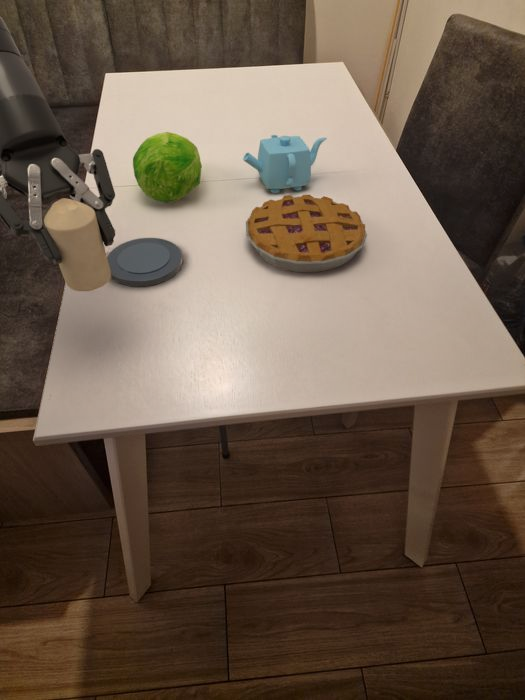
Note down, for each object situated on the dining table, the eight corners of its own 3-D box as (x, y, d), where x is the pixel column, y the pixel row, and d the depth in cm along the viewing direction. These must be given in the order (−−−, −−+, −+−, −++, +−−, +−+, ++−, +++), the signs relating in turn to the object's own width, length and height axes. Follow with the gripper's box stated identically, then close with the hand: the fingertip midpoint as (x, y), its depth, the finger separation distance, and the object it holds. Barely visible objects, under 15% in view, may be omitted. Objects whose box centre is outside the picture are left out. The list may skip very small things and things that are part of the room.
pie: (341, 207, 99) (344, 184, 95) (382, 270, 84) (387, 245, 80) (235, 218, 95) (235, 195, 92) (258, 286, 80) (259, 261, 77)
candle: (120, 277, 60) (101, 204, 53) (81, 298, 57) (56, 223, 50) (95, 259, 62) (74, 186, 55) (56, 278, 60) (29, 204, 52)
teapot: (250, 202, 100) (250, 154, 93) (236, 172, 109) (234, 126, 102) (332, 192, 103) (338, 145, 96) (311, 164, 113) (315, 119, 105)
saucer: (103, 289, 79) (101, 283, 78) (110, 245, 88) (108, 239, 87) (183, 283, 81) (182, 276, 80) (181, 240, 90) (180, 234, 89)
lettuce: (208, 168, 111) (204, 113, 102) (201, 212, 97) (195, 153, 88) (147, 167, 111) (138, 113, 102) (132, 212, 97) (120, 153, 88)
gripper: (-63, 107, 47) (21, 267, 49) (79, 79, 53) (148, 222, 55) (-52, 144, 54) (22, 283, 56) (73, 115, 60) (135, 241, 62)
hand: (85, 252), depth 55 cm, fingers closed on candle, 5 cm apart
